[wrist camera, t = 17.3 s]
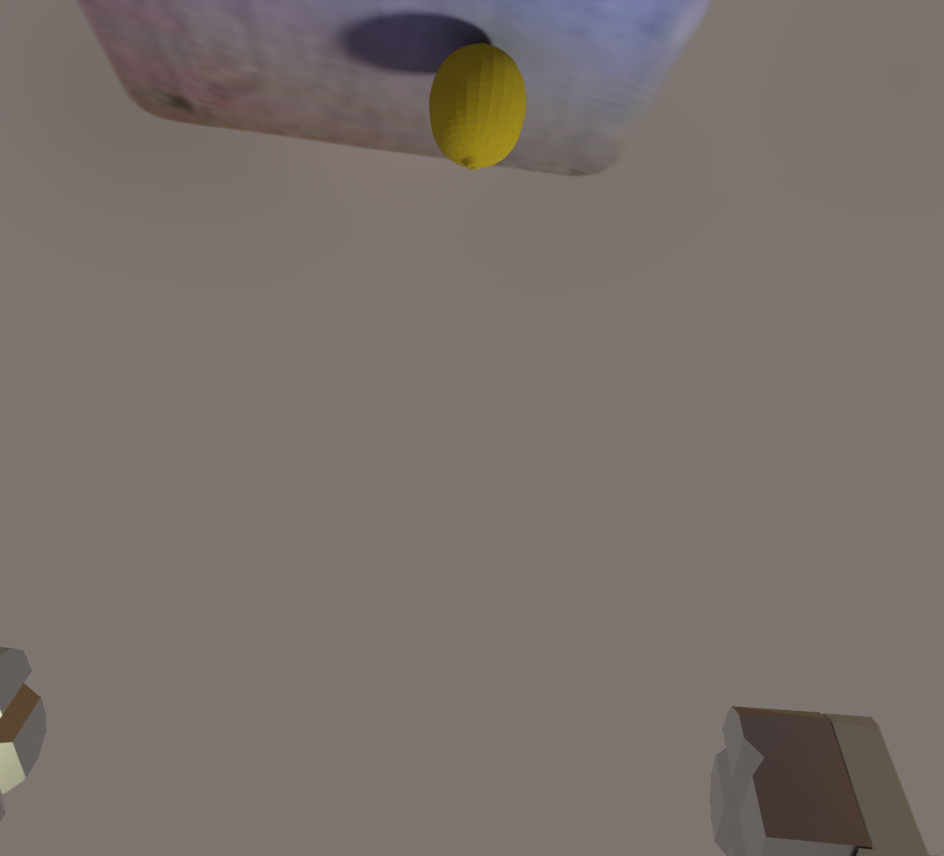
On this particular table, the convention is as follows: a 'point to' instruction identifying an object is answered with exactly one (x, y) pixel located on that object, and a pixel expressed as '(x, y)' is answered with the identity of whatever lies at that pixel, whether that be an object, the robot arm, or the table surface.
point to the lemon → (477, 105)
